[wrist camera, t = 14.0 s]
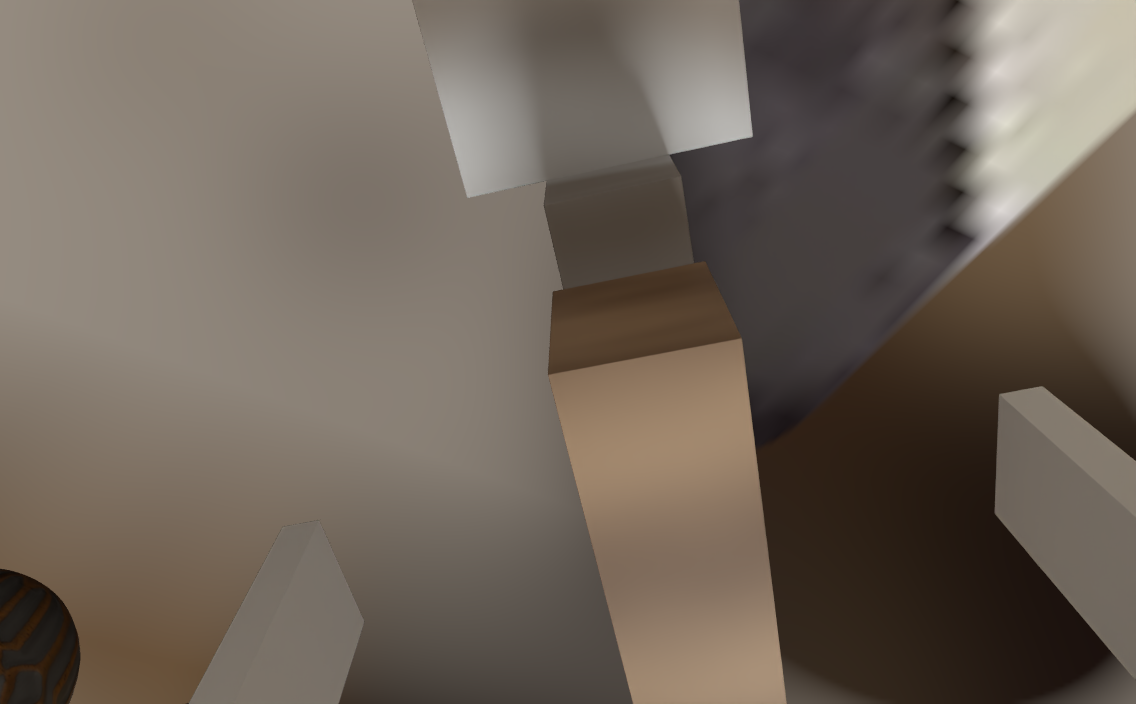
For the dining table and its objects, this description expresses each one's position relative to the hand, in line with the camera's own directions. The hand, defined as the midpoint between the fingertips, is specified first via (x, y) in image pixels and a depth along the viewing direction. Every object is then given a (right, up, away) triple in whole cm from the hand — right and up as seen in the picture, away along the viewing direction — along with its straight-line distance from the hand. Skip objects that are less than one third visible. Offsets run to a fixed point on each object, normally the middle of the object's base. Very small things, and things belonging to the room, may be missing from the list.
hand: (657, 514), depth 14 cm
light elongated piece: (0, +6, +5) cm, 8 cm away
